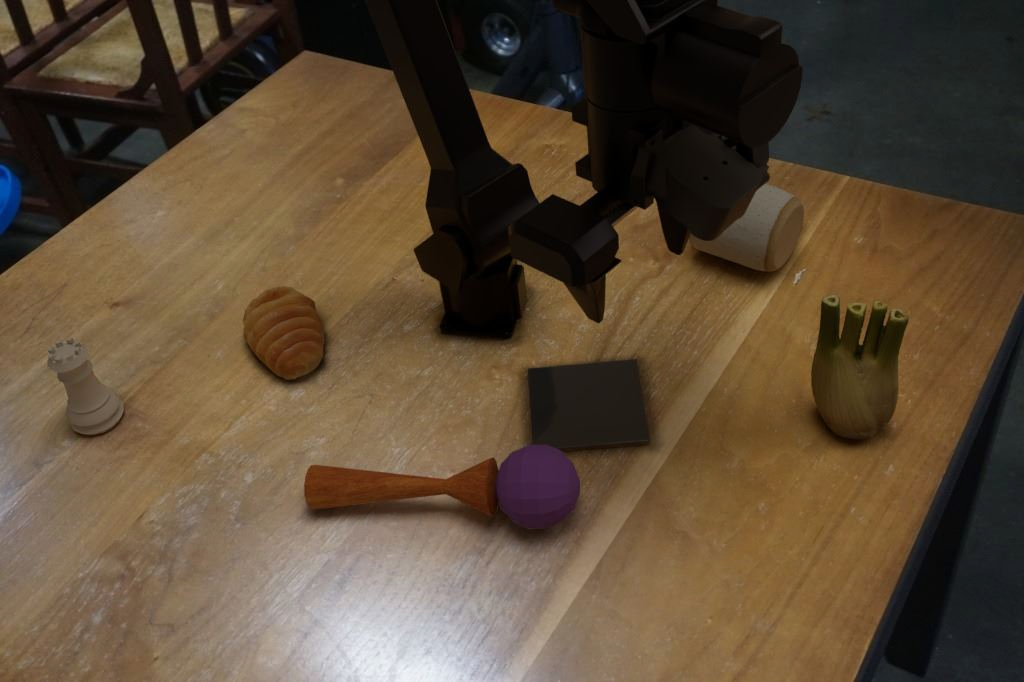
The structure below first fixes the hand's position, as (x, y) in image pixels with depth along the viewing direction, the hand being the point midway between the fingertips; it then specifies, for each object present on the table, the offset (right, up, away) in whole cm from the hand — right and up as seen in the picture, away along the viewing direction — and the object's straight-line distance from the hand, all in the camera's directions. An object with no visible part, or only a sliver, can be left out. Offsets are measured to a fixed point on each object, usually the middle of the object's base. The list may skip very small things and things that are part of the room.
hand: (636, 285), depth 78 cm
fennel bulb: (+17, -10, +6) cm, 21 cm away
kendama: (-14, -16, +4) cm, 22 cm away
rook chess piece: (-43, -11, +14) cm, 47 cm away
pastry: (-28, -4, +19) cm, 34 cm away
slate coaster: (-3, -9, +10) cm, 14 cm away
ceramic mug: (+13, +5, +23) cm, 27 cm away
